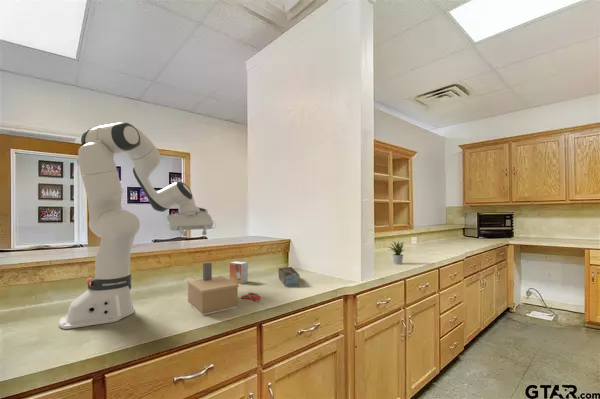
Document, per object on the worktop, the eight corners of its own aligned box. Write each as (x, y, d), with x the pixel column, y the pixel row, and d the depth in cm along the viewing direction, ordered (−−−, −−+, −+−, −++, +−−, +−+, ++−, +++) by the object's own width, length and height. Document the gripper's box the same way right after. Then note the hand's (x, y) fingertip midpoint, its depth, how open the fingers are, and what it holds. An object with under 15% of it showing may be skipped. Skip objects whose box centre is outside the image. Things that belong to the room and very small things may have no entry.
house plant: (395, 260, 217) (394, 238, 218) (412, 263, 207) (412, 240, 207) (383, 263, 208) (383, 240, 209) (401, 266, 198) (401, 241, 198)
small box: (229, 282, 156) (229, 262, 157) (236, 280, 161) (236, 260, 162) (241, 284, 153) (241, 263, 153) (247, 281, 158) (247, 262, 158)
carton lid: (201, 293, 108) (201, 271, 109) (187, 283, 123) (187, 264, 124) (238, 286, 117) (238, 266, 117) (220, 278, 132) (220, 260, 132)
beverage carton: (284, 287, 147) (284, 274, 147) (278, 278, 165) (278, 267, 165) (300, 286, 148) (300, 273, 149) (291, 277, 167) (291, 266, 167)
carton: (202, 315, 109) (202, 293, 109) (188, 302, 123) (188, 283, 123) (237, 307, 117) (237, 287, 117) (220, 296, 131) (220, 278, 132)
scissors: (267, 310, 115) (267, 306, 115) (238, 298, 130) (238, 295, 130) (282, 305, 120) (282, 301, 120) (252, 294, 135) (252, 291, 135)
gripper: (167, 209, 139) (172, 231, 131) (210, 209, 152) (217, 229, 143) (165, 218, 143) (170, 240, 135) (207, 217, 155) (214, 237, 147)
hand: (194, 234), depth 139 cm, fingers open, 8 cm apart
